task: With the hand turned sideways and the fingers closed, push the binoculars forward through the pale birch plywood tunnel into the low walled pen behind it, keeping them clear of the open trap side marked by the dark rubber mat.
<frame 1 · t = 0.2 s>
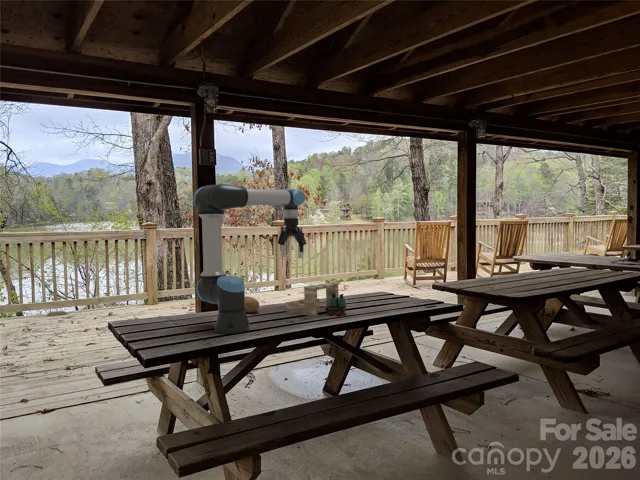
hand: (291, 257, 250), 28 cm above the table, tool pointing down, fingers open, 13 cm apart
binoculars: (336, 315, 232), on the table
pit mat: (330, 307, 254), on the table
potato: (250, 312, 246), on the table
tunnel: (322, 312, 239), on the table
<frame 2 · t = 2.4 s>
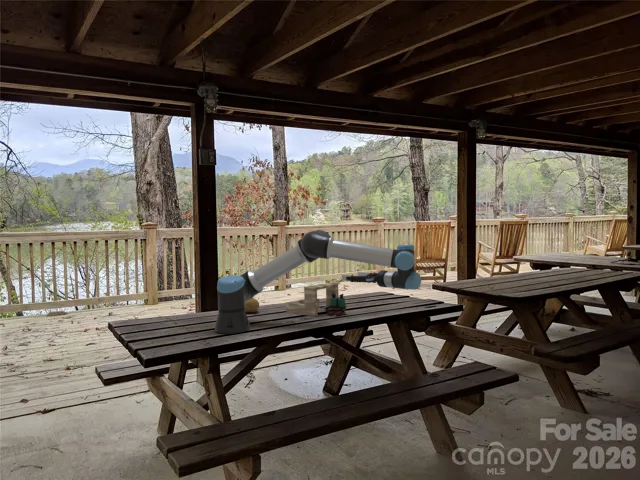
hand: (350, 276, 225), 20 cm above the table, tool horizontal, fingers open, 11 cm apart
nothing on the table moved.
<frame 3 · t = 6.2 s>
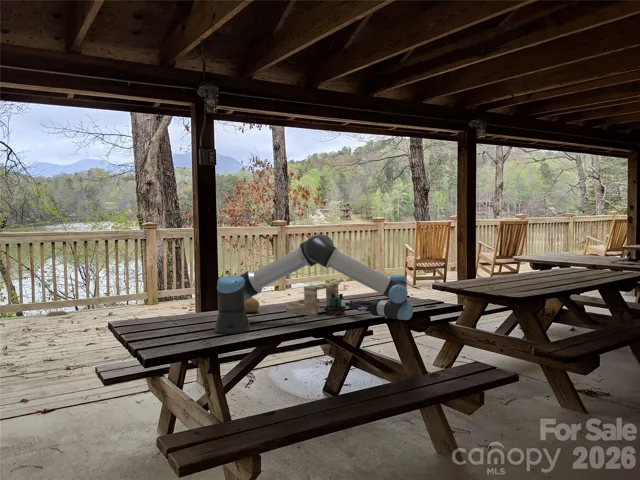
hand: (342, 302, 231), 6 cm above the table, tool horizontal, fingers closed
binoculars: (335, 315, 233), on the table, touching gripper
everything else where it was.
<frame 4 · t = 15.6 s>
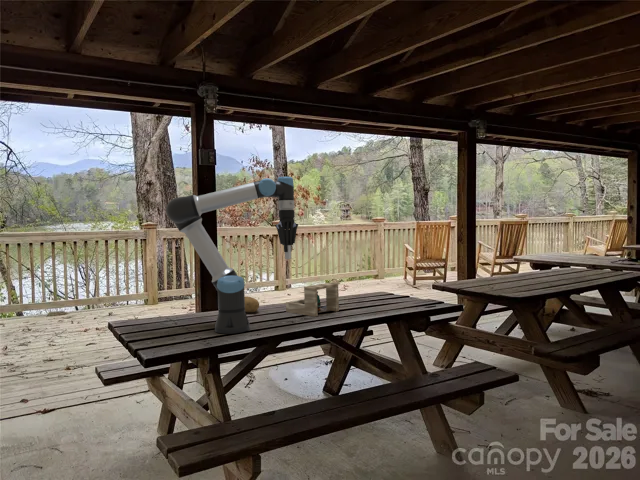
hand: (288, 258, 224), 29 cm above the table, tool pointing down, fingers closed
binoculars: (310, 311, 244), on the table
everything else where it was.
at the end: binoculars inside the target area (2.4 cm from its centre), on the table; binoculars tilted 0°; binoculars moved 17.4 cm from its start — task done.
